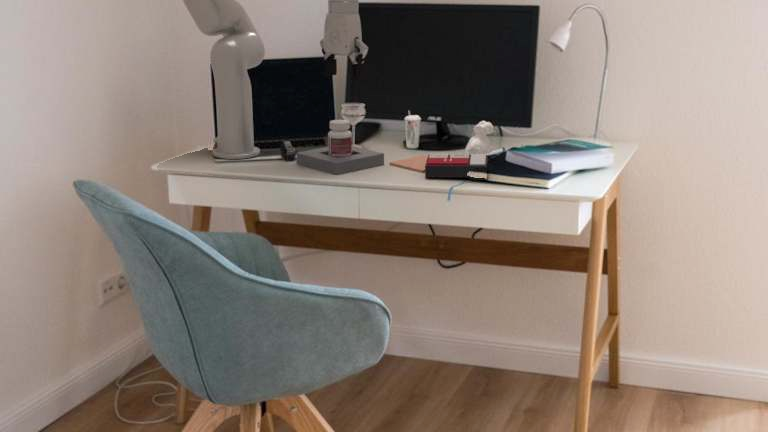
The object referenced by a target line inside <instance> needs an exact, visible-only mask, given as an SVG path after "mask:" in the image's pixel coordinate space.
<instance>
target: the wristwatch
mask: <svg viewBox="0 0 768 432" xmlns="http://www.w3.org/2000/svg"><path fill="white" fill-rule="evenodd" d="M279 156H280V157H281V158H282V160H284V161H293V160H295V158H297V152H296V149H295V147H294V146H293V145H292V143H291V141H290V140H286V141H282V142H281V143H280V155H279Z"/></svg>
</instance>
